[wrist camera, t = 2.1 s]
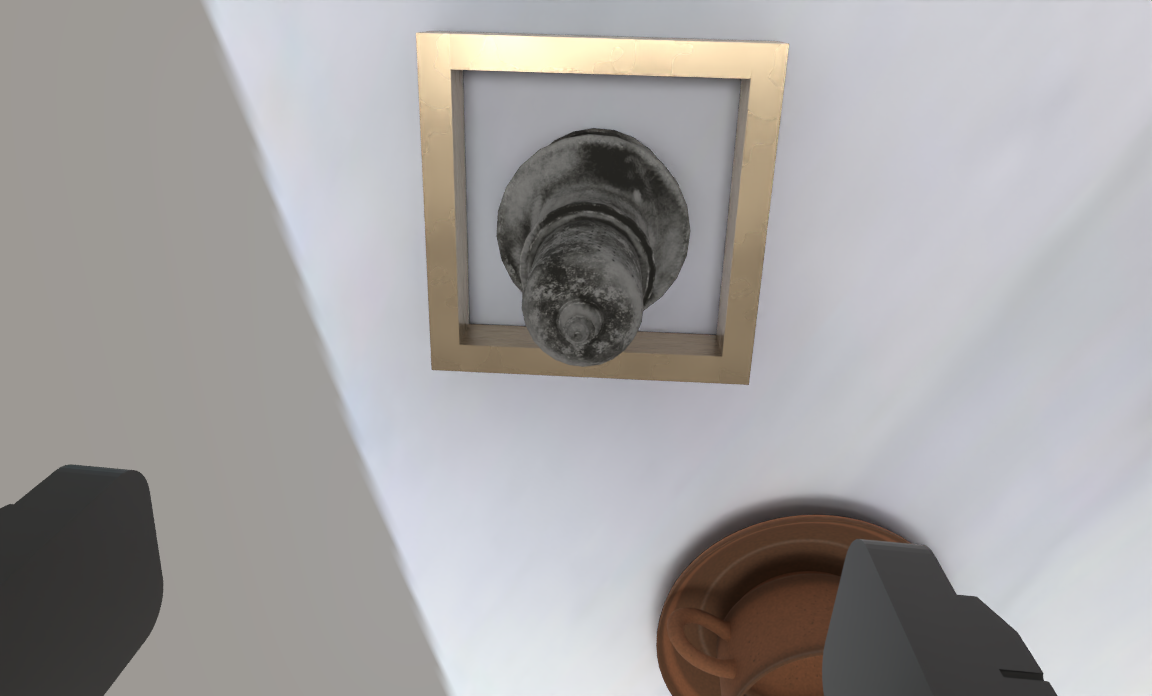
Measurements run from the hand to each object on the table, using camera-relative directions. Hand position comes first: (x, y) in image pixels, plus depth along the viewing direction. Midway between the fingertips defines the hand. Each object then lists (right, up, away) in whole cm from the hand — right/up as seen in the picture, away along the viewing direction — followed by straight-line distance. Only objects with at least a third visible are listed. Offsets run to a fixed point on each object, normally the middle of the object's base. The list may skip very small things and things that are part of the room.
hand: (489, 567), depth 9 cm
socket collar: (+2, +7, +19) cm, 20 cm away
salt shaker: (+2, +7, +19) cm, 20 cm away
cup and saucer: (+10, -9, +25) cm, 29 cm away
